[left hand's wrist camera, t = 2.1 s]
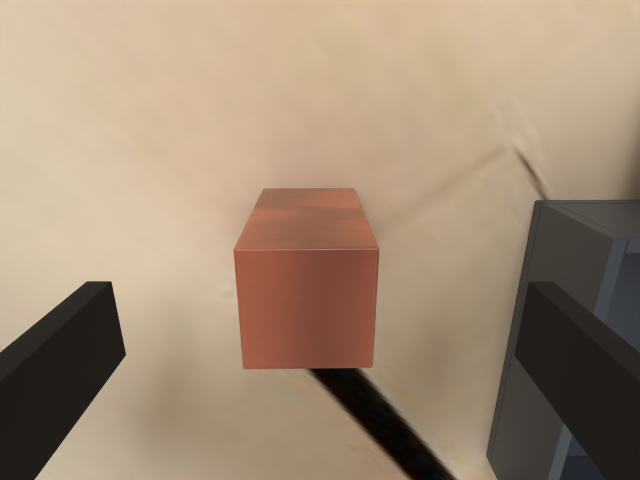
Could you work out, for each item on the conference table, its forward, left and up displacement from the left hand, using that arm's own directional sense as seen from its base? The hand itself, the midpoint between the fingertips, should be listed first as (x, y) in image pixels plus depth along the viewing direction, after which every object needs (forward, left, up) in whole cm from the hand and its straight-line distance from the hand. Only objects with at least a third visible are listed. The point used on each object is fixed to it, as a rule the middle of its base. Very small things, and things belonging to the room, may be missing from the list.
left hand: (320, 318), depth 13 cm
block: (0, 0, -8) cm, 8 cm away
